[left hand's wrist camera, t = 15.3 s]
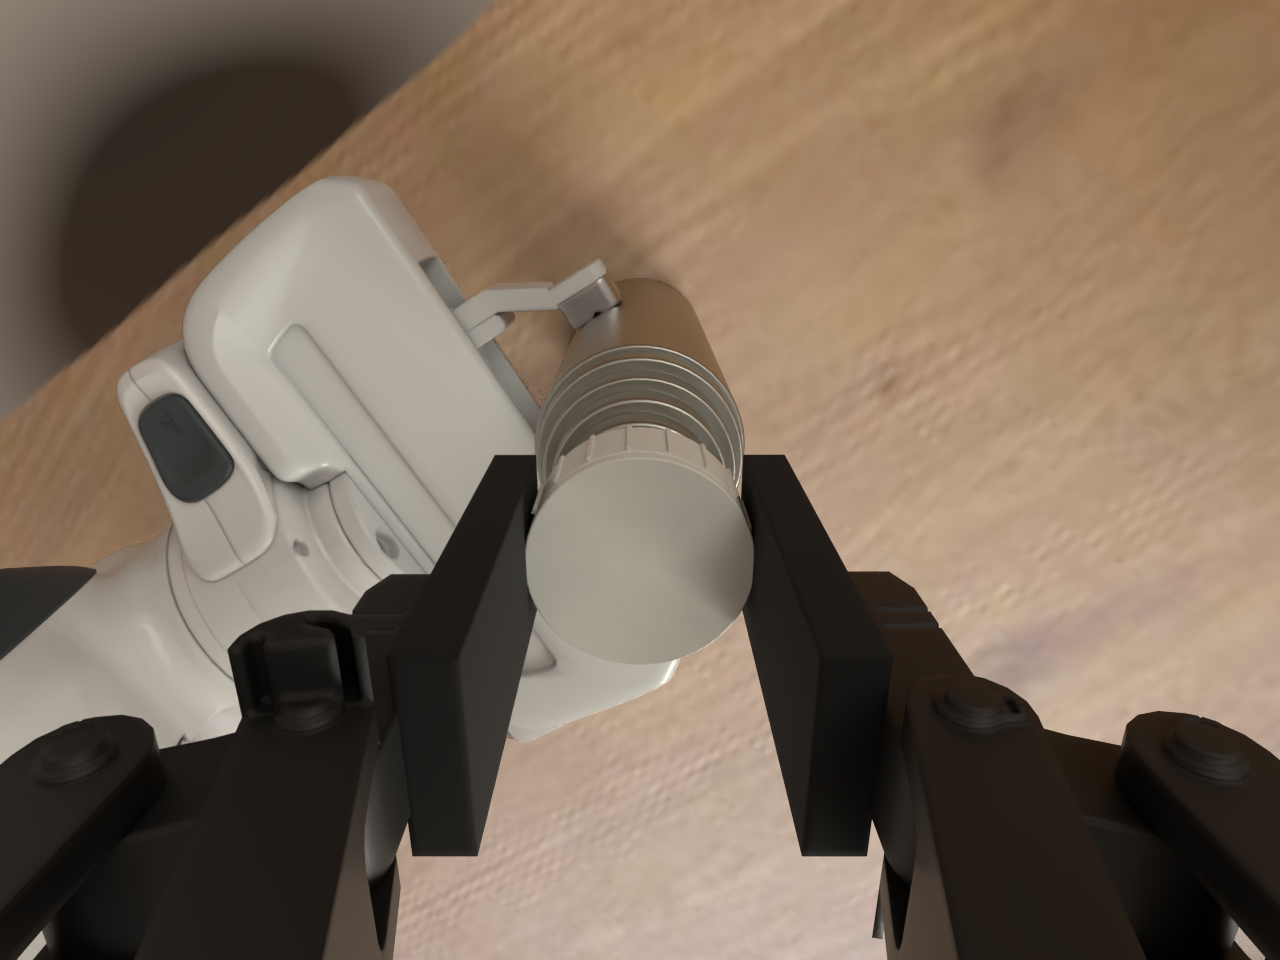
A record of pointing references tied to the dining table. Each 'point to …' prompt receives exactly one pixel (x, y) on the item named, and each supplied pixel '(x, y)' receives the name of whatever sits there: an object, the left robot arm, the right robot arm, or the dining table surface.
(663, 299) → the bottle
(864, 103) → the dining table surface
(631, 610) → the cap
